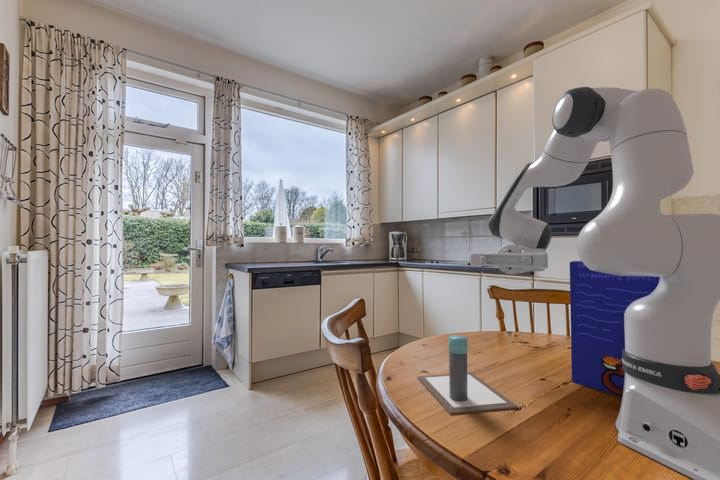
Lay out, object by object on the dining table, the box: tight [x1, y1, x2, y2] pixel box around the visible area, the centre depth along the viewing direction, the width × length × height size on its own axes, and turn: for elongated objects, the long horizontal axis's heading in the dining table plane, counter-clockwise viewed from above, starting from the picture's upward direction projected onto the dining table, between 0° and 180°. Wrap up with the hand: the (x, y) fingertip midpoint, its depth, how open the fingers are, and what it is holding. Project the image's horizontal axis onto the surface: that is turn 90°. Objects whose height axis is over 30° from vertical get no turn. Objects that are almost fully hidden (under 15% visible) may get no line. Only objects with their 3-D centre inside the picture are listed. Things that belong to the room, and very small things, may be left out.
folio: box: [416, 372, 519, 415], centre depth 77 cm, size 19×15×1 cm
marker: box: [448, 334, 469, 402], centre depth 72 cm, size 4×4×13 cm
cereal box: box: [569, 260, 660, 398], centre depth 76 cm, size 22×6×30 cm, turn 36°
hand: (501, 260), depth 87 cm, fingers open, 8 cm apart
